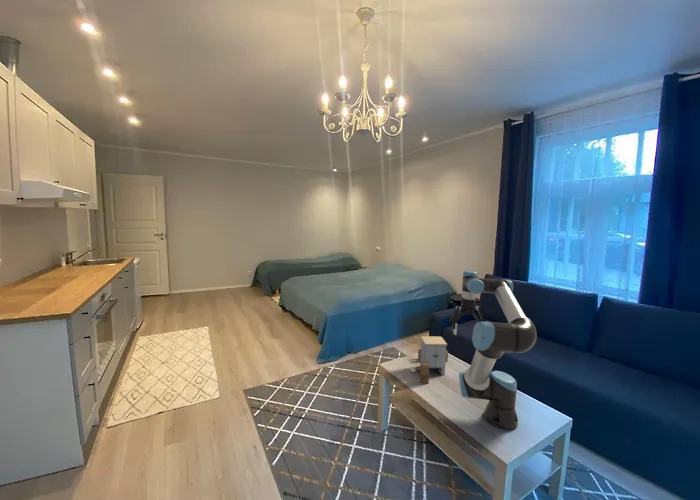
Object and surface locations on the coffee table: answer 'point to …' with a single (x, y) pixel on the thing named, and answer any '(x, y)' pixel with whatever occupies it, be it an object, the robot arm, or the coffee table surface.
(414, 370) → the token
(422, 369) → the wooden block
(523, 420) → the coffee table surface
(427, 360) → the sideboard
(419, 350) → the stand
